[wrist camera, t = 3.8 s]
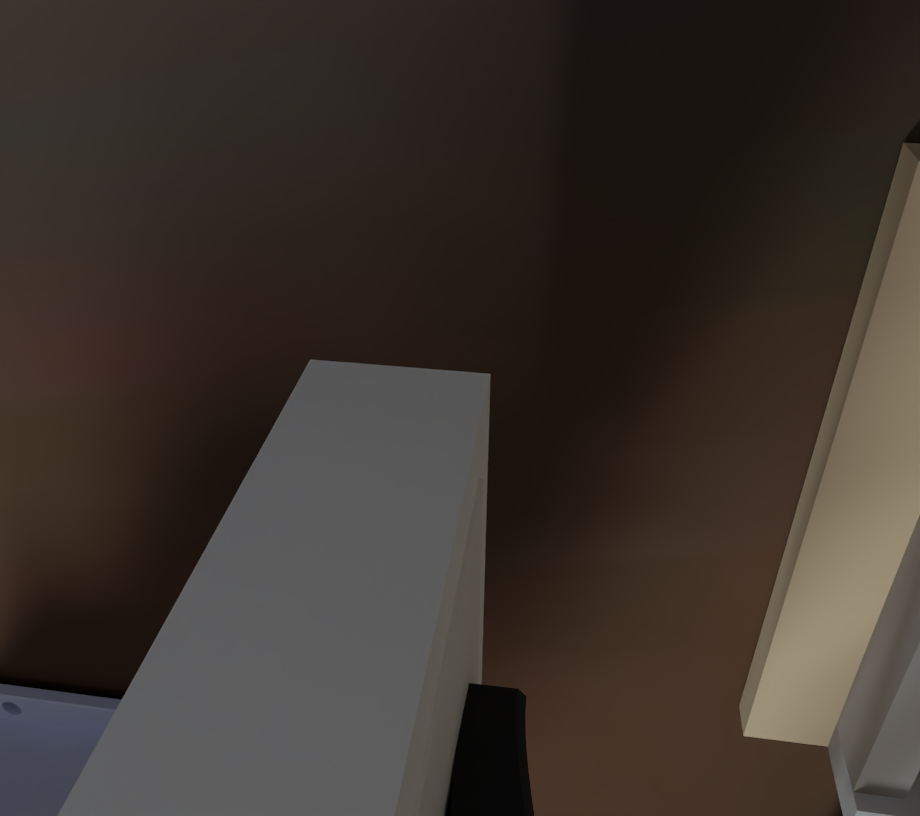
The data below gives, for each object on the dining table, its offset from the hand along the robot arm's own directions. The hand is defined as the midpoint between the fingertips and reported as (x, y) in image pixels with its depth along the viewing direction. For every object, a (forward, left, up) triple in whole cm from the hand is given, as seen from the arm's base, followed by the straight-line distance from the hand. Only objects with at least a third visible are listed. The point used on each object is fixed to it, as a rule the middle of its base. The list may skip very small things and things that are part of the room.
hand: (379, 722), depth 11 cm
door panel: (0, 0, -2) cm, 2 cm away
